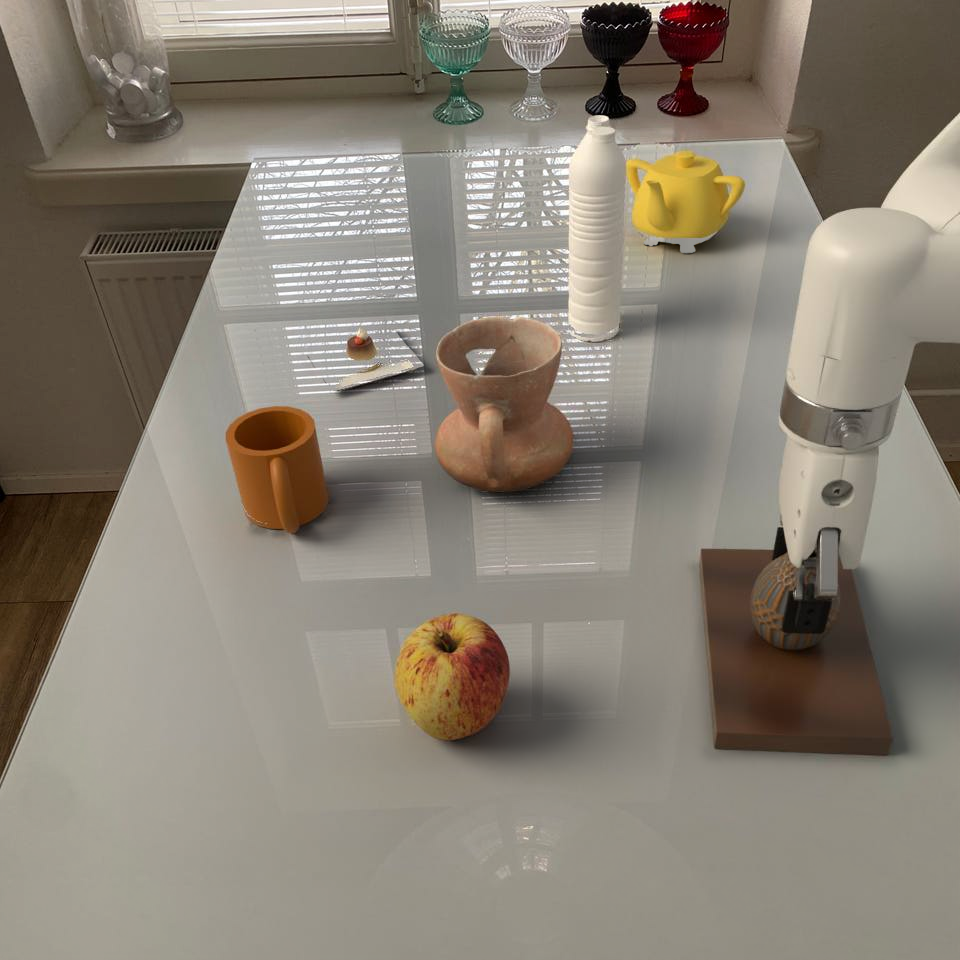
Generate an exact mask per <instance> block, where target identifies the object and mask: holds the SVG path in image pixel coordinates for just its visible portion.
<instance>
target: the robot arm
mask: <svg viewBox="0 0 960 960" xmlns="http://www.w3.org/2000/svg"><path fill="white" fill-rule="evenodd" d="M803 267H804V268H803V273H802V278H801V284H800V290H799V295H798V301H797V307H796V313H795V319H794V324H793V330H792V337H791V341H790V348H789V354H788V360H787V365H786V371H785V378H784V384H783V389H782V394H781V395H782V396H781V401H780V406H779V412H778V425H779V428H780V429H781V431H782V432H783V434H785V435H786V441H785V446H784V451H783V456H782V462H781V467H780V474H779V481H778V503H779V510H780V515H779V524H780V526H778V527H777V530H776V534H775V540H774V545H773V549H772V550H773V555H772V560H771V562H772V561H773V560H775V559H777V558H778V557H780V556H782V555H784V554H786V553H787V552H788V555H789V559H790V561H791V563H792V564H793V565H794V566H795V567H796V568H795V579H794V590H792V591H789V592H788V597H787V601H786V606H785V611H784V616H783V620H782V631H783V632H784V633H801V634H821V633H823V632H824V631H825V628H826V624H827V620H828V616H829V612H830V608H831V604H832V601H833V599H834V597H836V595H837V589H838V554H839V556H840V559H841V563H842V566H843V569H850V570H852V571H854V570H855V569H856V568H858V566H859V565H860V562H861V559H862V555H863V551H864V546H865V541H866V537H867V532H868V526H869V522H870V516H871V512H872V507H873V501H874V496H875V489H876V483H877V474H878V466H879V451H880V448H879V447H880V446H882V445H883V444H884V443H886V442H887V441H888V440H889V438H890V437H891V435H892V432H893V429H894V425H895V420H896V417H897V412H898V409H899V405H900V402H901V397H902V393H903V390H904V388H905V384H906V380H907V375H908V372H909V369H910V365H911V361H912V358H913V353H914V351H915V346H916V345H918V344H921V343H924V342H925V343H945V344H946V343H949V344H950V343H951V344H960V112H958V114H957V115H956V116H955V117H954V118H953V119H952V120H951V121H950V122H949V123H948V124H946V126H945V127H944V128H943V129H942V130H941V131H940V132H939V133H938V135H936V136H935V138H933V139H932V141H931V142H930V143H929V144H928V145H927V146H926V147H925V148H924V149H922V151H921V152H920V153H919V155H917V156H916V158H915V159H914V160H913V161H912V162H911V163H910V164H909V165H908V167H907V168H905V170H904V171H903V172H902V174H901V175H900V176H899V178H898V179H897V181H896V182H895V183H894V184H893V185H892V188H891V189H890V190H889V192H888V193H887V195H886V197H885V198H884V200H883V203H882V204H881V206H880V207H857V208H851V209H850V208H849V209H846V210H843V211H839V212H837V213H834V214H832V215H831V216H829V217H827V218H826V219H824V220H823V221H822V222H821V223H820V224H819V225H818V226H817V227H816V228H815V230H814V231H813V233H812V235H811V236H810V239H809V241H808V246H807V250H806V255H805V261H804V265H803ZM814 550H817V557H809V556H810V555H811V554H812V552H813V551H814ZM806 568H810V569H816V580H815V582H814V583H808V584H804V582H805V572H806Z"/></svg>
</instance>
